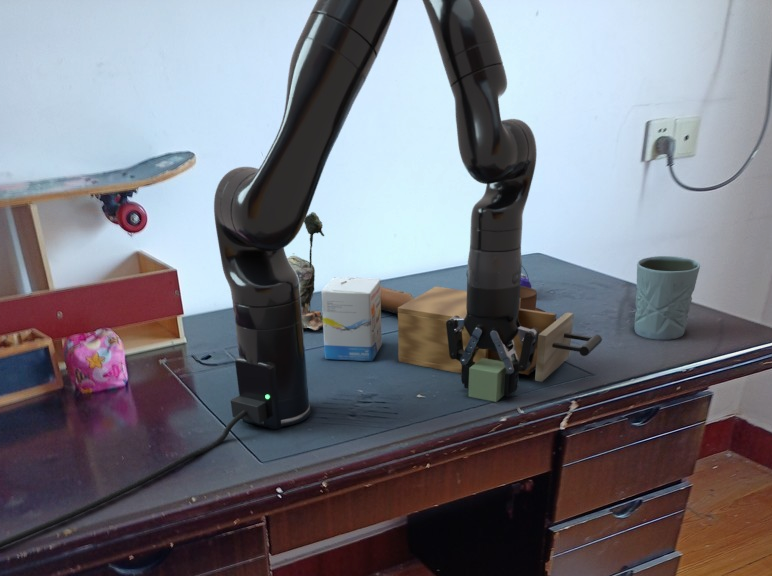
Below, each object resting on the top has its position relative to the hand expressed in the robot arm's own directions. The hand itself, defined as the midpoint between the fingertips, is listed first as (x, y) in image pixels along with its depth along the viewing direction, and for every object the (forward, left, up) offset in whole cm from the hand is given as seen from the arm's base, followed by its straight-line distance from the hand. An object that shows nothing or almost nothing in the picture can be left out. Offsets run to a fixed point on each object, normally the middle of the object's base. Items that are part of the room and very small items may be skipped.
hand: (488, 390), depth 125 cm
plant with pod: (+14, +44, -1) cm, 46 cm away
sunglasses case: (+29, +33, -1) cm, 44 cm away
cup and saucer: (+31, +9, -1) cm, 32 cm away
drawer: (+12, -2, 0) cm, 12 cm away
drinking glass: (+39, -15, -1) cm, 42 cm away
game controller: (+46, +17, -1) cm, 49 cm away
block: (0, 0, -1) cm, 1 cm away
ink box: (+6, +28, -1) cm, 29 cm away
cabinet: (+12, +11, -1) cm, 16 cm away
